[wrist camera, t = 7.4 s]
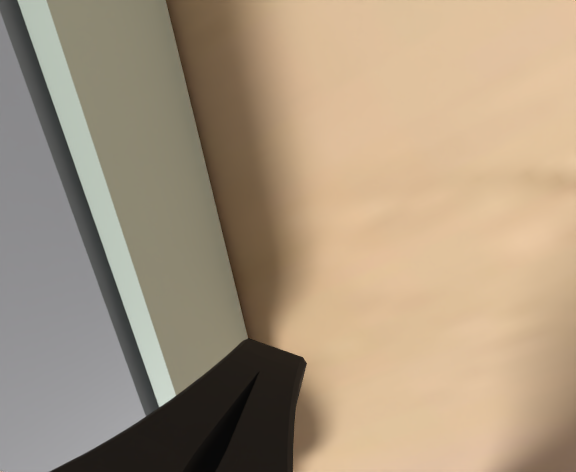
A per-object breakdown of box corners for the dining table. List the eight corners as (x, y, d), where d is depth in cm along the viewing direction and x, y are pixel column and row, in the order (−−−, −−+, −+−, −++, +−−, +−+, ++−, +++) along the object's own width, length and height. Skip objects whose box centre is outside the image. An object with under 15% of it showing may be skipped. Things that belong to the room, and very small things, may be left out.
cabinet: (104, -137, 16) (-71, -187, 11) (239, 386, 24) (176, 501, 19) (-158, -54, 20) (-376, -61, 15) (33, 369, 28) (-65, 459, 23)
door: (263, 393, 23) (212, 499, 19) (243, 391, 23) (187, 495, 19) (140, -117, 15) (0, -153, 11) (112, -109, 16) (-36, -140, 11)
